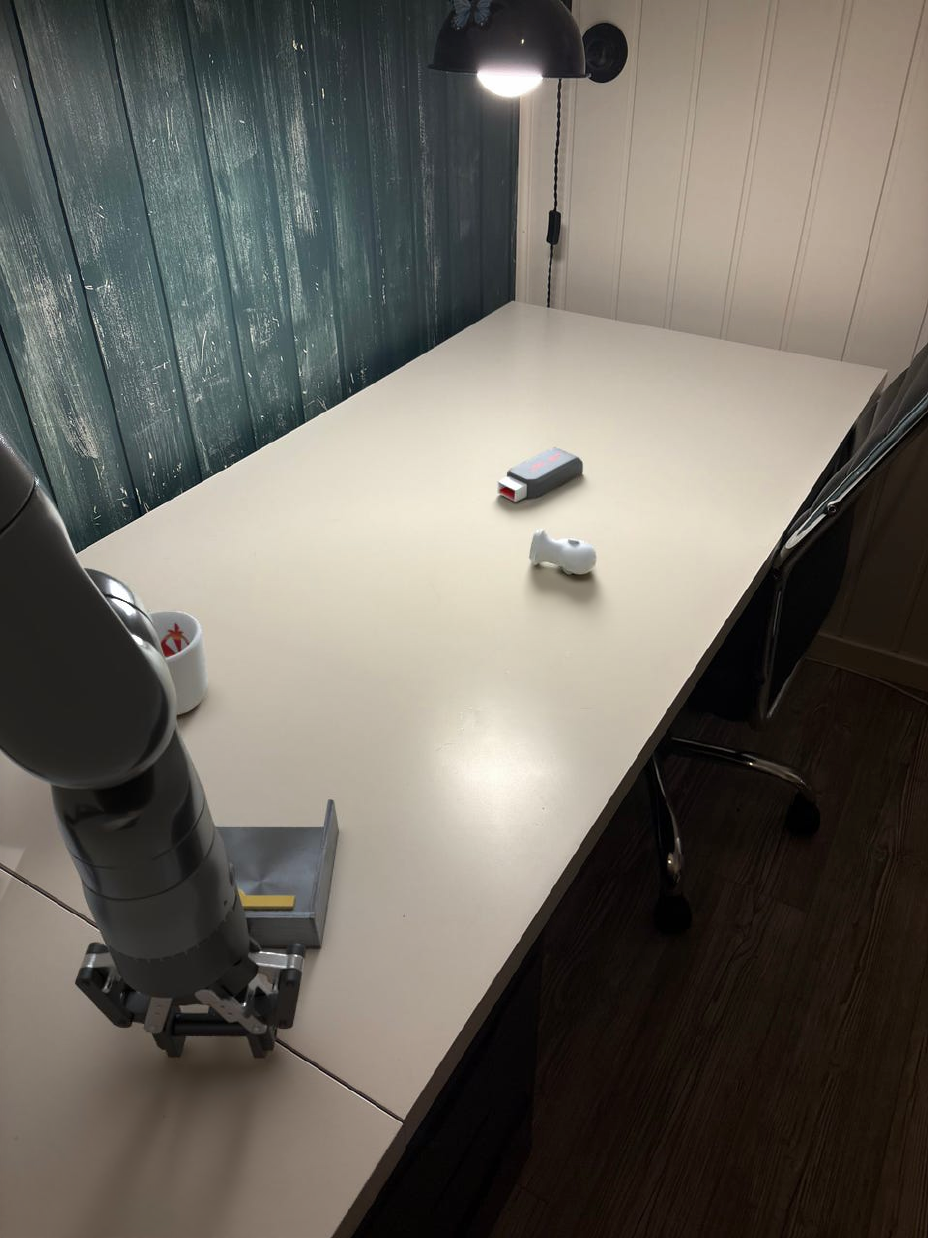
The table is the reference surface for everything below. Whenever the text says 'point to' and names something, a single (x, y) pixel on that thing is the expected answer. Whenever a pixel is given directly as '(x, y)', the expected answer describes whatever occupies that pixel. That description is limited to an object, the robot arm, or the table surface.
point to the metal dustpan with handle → (275, 869)
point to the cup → (183, 656)
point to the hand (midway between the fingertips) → (221, 1044)
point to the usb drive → (540, 474)
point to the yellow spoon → (266, 901)
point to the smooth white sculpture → (563, 553)
